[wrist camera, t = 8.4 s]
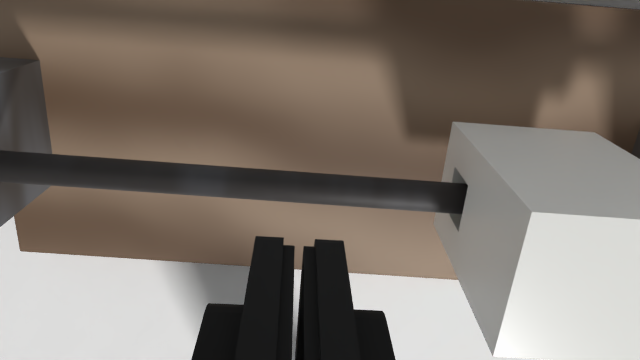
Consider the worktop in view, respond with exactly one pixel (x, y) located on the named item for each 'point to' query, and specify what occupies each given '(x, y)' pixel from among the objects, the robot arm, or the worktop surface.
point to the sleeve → (546, 240)
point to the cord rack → (283, 118)
